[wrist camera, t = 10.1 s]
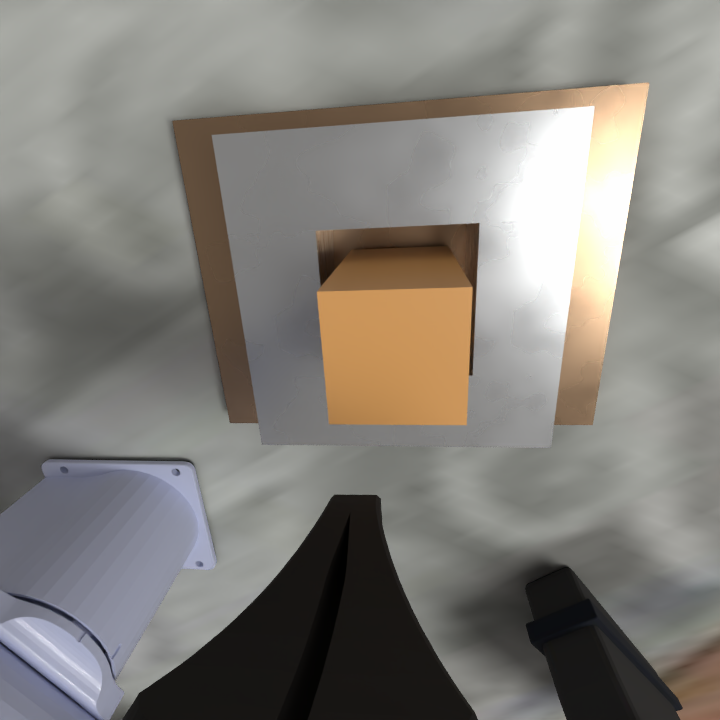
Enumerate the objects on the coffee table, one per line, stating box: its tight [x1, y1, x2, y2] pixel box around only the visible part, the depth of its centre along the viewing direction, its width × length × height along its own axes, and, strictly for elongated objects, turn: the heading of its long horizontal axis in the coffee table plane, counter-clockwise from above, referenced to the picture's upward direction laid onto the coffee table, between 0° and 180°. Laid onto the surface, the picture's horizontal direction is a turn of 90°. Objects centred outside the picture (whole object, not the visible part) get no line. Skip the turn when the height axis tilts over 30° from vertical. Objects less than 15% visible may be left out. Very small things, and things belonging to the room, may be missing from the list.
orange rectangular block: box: [317, 246, 473, 425], centre depth 16 cm, size 4×4×8 cm
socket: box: [172, 83, 649, 448], centre depth 18 cm, size 18×14×4 cm
